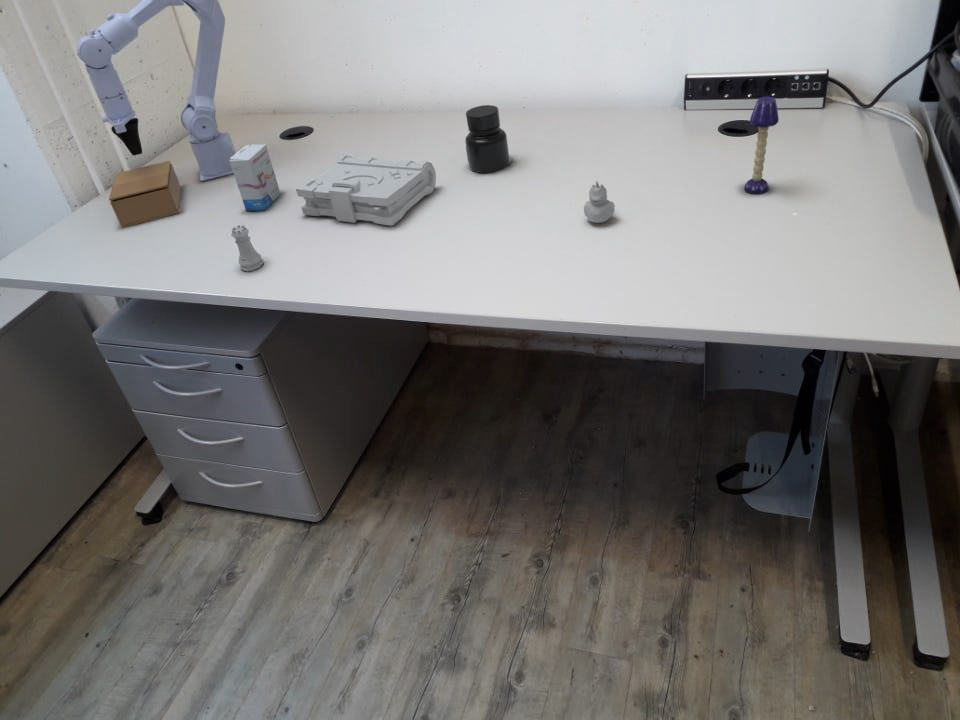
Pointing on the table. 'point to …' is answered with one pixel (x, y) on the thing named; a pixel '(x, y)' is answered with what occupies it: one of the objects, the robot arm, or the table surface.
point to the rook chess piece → (246, 250)
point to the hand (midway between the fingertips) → (137, 153)
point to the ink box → (255, 177)
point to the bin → (146, 198)
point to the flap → (142, 173)
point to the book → (367, 189)
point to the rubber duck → (598, 205)
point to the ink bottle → (486, 140)
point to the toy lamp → (761, 141)
